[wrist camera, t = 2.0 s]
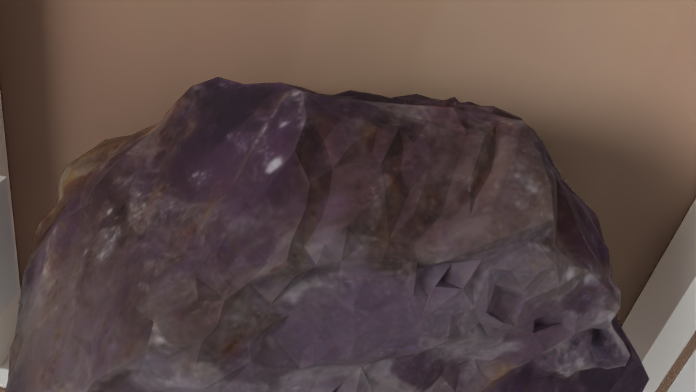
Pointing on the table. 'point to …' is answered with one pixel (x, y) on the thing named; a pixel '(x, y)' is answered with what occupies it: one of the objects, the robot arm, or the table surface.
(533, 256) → the rock
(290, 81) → the table surface
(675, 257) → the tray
